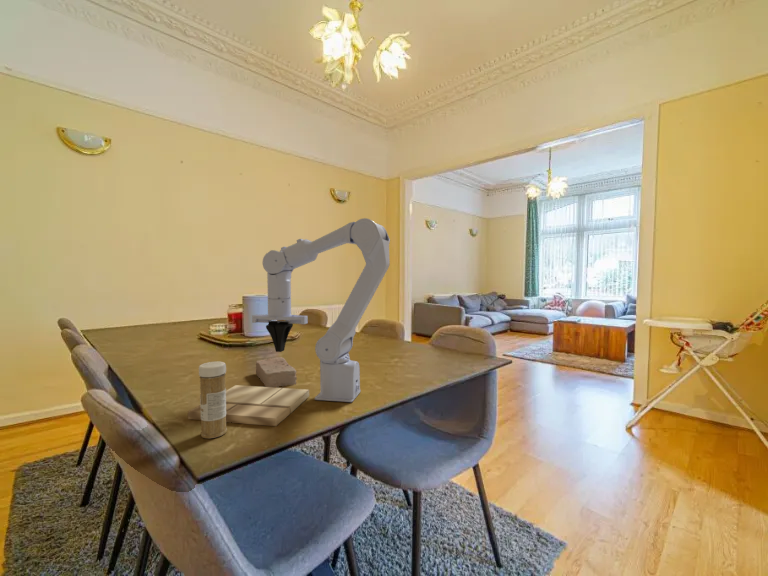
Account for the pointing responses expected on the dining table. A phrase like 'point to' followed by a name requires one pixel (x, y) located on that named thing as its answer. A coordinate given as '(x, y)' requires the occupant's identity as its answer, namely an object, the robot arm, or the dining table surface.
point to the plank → (267, 396)
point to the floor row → (249, 413)
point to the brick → (275, 372)
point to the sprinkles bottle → (213, 399)
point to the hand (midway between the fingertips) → (280, 351)
